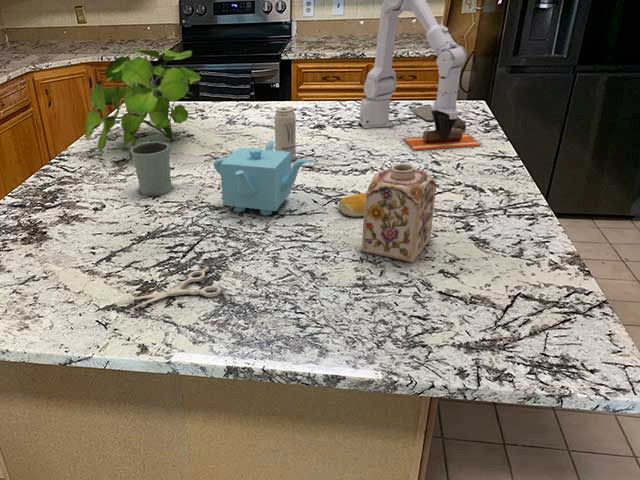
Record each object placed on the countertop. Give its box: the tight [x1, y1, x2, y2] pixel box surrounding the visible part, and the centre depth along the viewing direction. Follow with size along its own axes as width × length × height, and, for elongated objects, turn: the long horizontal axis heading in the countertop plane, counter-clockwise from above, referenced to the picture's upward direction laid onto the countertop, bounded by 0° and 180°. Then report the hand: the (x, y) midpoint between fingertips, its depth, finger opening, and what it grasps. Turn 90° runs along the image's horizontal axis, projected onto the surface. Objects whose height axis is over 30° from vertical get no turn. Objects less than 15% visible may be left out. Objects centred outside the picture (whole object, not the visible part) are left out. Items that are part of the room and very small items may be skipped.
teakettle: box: [213, 140, 310, 216], centre depth 150 cm, size 19×19×15 cm
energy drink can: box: [274, 106, 297, 162], centre depth 178 cm, size 6×6×15 cm
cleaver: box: [411, 105, 467, 131], centre depth 207 cm, size 29×10×2 cm, turn 9°
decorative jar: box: [361, 163, 437, 263], centre depth 127 cm, size 12×12×18 cm
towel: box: [403, 133, 481, 152], centre depth 187 cm, size 20×11×1 cm, turn 93°
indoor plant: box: [84, 48, 202, 151], centre depth 196 cm, size 44×42×30 cm
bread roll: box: [338, 192, 366, 218], centre depth 148 cm, size 8×9×4 cm
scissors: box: [121, 266, 222, 311], centre depth 119 cm, size 11×1×20 cm
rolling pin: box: [422, 128, 463, 143], centre depth 186 cm, size 11×4×4 cm
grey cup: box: [130, 141, 172, 197], centre depth 164 cm, size 10×10×12 cm
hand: (441, 136), depth 186 cm, fingers closed on rolling pin, 3 cm apart
